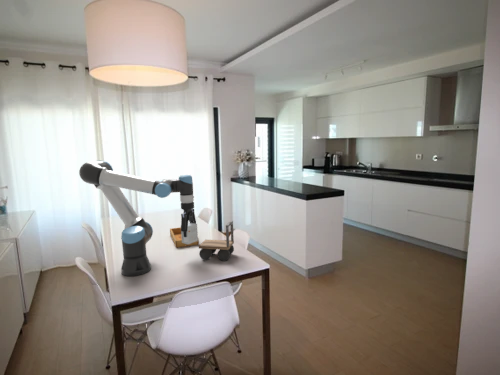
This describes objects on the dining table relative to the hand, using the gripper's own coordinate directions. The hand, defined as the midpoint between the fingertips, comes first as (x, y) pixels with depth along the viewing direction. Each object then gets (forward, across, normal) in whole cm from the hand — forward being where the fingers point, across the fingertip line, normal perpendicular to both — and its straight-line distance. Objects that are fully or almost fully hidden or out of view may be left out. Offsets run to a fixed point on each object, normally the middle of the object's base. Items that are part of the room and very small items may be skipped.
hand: (189, 239), depth 182 cm
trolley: (+12, +4, -15) cm, 19 cm away
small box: (+2, 0, 0) cm, 2 cm away
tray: (+12, +34, +19) cm, 41 cm away
